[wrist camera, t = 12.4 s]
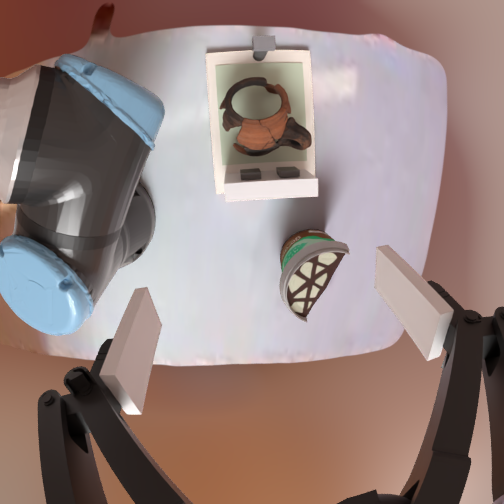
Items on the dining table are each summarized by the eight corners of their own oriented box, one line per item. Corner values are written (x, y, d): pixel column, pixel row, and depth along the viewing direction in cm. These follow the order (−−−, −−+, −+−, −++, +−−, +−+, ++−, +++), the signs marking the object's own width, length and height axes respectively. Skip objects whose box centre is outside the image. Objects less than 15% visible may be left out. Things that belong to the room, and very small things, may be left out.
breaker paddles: (240, 175, 37) (240, 180, 35) (240, 169, 37) (240, 173, 34) (294, 172, 38) (299, 176, 35) (294, 166, 37) (299, 170, 35)
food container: (294, 207, 44) (310, 231, 35) (329, 223, 45) (352, 250, 36) (259, 275, 48) (265, 312, 39) (292, 288, 50) (305, 325, 41)
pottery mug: (212, 149, 39) (203, 119, 31) (240, 97, 40) (237, 61, 31) (296, 180, 38) (307, 155, 30) (318, 124, 39) (331, 92, 31)
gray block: (250, 61, 34) (253, 48, 27) (249, 50, 33) (253, 36, 26) (268, 60, 34) (276, 48, 27) (267, 50, 33) (274, 35, 26)
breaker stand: (216, 192, 42) (213, 208, 35) (206, 55, 34) (200, 40, 27) (313, 186, 43) (329, 200, 35) (308, 52, 34) (324, 38, 27)
